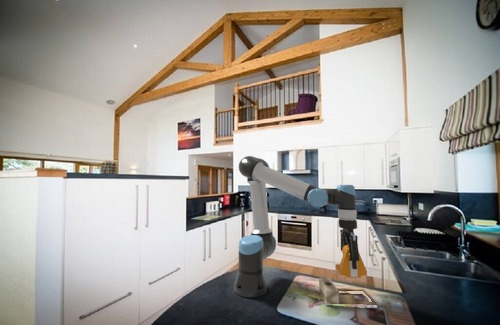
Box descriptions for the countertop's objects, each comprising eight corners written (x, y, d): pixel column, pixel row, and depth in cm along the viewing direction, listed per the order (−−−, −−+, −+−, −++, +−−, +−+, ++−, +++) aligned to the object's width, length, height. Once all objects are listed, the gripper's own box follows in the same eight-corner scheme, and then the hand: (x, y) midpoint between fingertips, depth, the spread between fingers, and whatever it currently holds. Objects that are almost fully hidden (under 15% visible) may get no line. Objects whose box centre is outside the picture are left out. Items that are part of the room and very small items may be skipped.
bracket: (359, 271, 93) (357, 243, 94) (367, 278, 86) (365, 248, 87) (334, 270, 94) (333, 243, 95) (340, 277, 86) (339, 247, 88)
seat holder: (326, 306, 83) (325, 289, 84) (319, 291, 95) (318, 277, 96) (378, 309, 82) (377, 292, 82) (364, 293, 94) (363, 279, 94)
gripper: (366, 222, 82) (370, 283, 79) (347, 216, 102) (350, 264, 99) (347, 222, 83) (350, 282, 80) (332, 215, 103) (334, 263, 100)
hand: (350, 272), depth 90 cm, fingers closed on bracket, 7 cm apart
